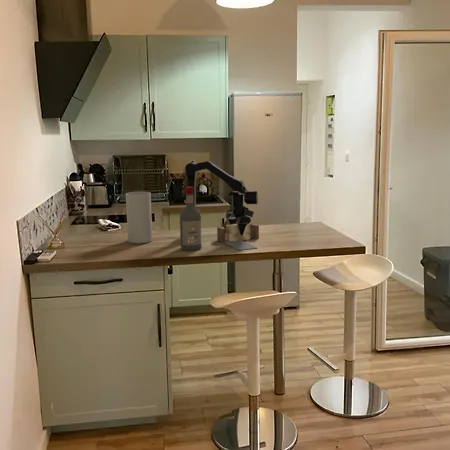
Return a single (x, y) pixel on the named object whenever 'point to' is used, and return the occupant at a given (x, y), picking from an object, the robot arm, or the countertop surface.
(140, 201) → the cylinder vase
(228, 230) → the block
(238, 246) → the mat
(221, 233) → the holder
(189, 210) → the liquor
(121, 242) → the countertop surface
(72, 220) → the countertop surface
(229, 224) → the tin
